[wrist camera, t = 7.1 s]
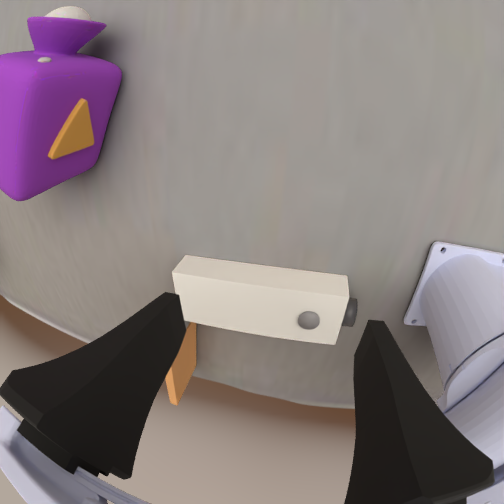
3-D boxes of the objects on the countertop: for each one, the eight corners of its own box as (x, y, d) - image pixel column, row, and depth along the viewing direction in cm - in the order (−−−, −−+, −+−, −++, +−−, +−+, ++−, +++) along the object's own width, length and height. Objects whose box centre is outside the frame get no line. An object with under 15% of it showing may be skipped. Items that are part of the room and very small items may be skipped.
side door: (188, 304, 25) (160, 351, 20) (196, 307, 25) (169, 354, 20) (190, 362, 30) (170, 403, 25) (196, 365, 30) (177, 405, 25)
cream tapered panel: (359, 277, 20) (363, 301, 17) (345, 324, 22) (346, 349, 20) (185, 254, 22) (170, 274, 20) (192, 301, 25) (180, 322, 23)
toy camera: (152, 11, 13) (49, -17, 4) (118, 173, 20) (24, 225, 12) (65, 22, 13) (-21, 24, 5) (45, 150, 21) (-32, 186, 12)
